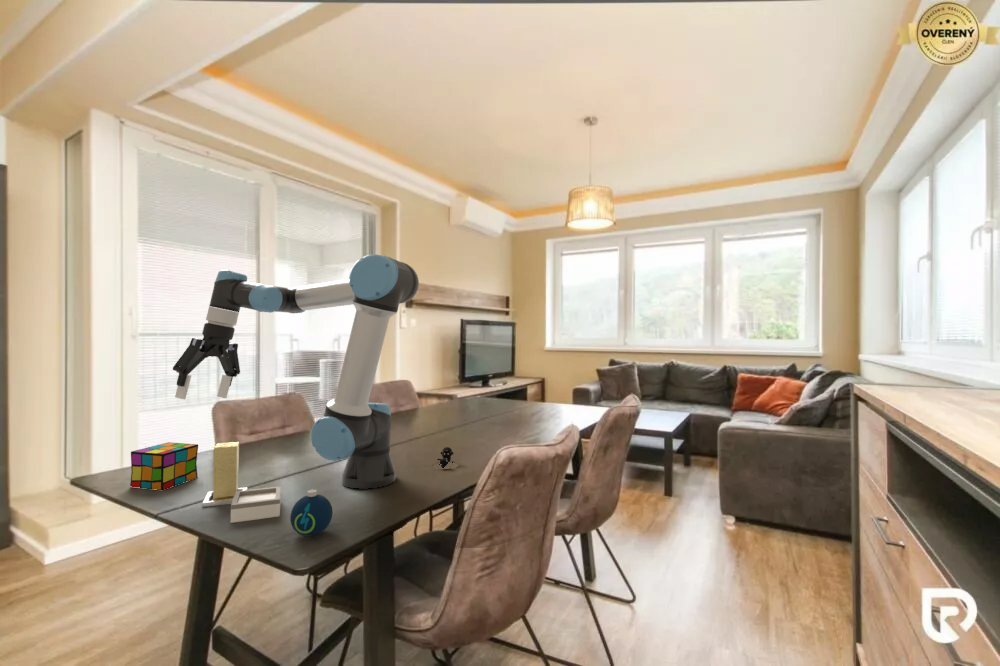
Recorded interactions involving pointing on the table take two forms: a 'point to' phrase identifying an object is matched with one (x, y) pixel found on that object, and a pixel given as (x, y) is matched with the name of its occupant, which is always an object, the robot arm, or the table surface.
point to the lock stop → (225, 470)
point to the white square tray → (256, 504)
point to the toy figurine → (446, 456)
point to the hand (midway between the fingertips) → (201, 397)
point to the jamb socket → (217, 502)
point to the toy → (163, 465)
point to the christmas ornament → (311, 514)
